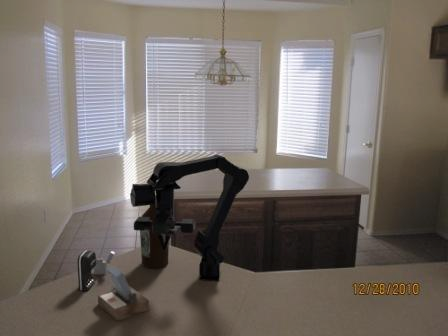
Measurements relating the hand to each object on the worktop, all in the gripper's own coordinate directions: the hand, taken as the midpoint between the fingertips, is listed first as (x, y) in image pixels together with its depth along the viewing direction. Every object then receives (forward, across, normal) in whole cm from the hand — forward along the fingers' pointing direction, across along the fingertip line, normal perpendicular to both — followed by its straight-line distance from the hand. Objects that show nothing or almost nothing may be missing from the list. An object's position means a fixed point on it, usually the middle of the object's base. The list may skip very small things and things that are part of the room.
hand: (164, 250), depth 145 cm
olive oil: (+12, -7, +16) cm, 21 cm away
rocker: (+9, -9, -15) cm, 19 cm away
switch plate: (+9, -12, -18) cm, 23 cm away
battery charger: (+12, -24, -4) cm, 27 cm away
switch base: (+12, -9, -15) cm, 21 cm away
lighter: (+12, -22, +6) cm, 26 cm away
